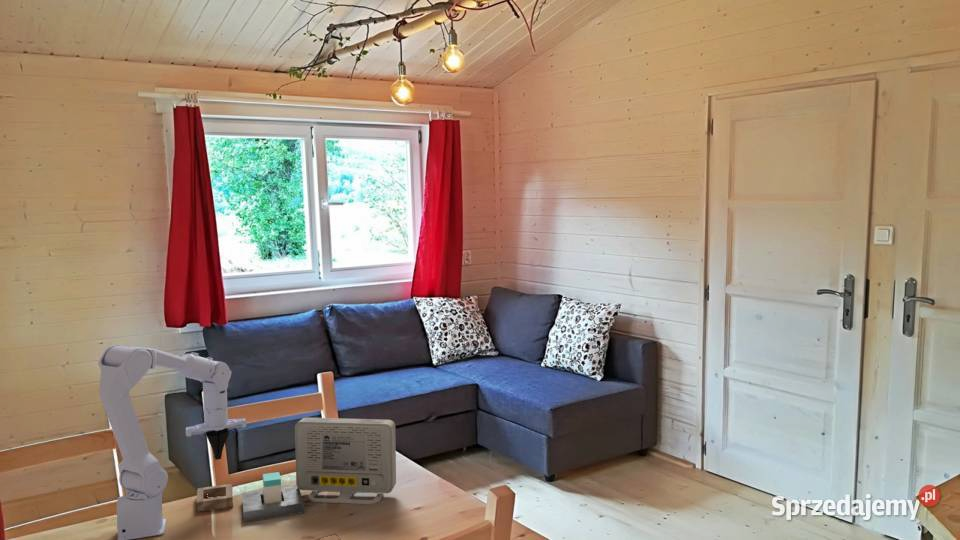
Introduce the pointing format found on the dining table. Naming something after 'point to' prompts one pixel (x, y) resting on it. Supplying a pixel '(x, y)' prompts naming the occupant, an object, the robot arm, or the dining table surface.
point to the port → (272, 504)
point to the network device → (345, 457)
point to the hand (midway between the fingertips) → (217, 458)
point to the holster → (214, 502)
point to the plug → (272, 488)
